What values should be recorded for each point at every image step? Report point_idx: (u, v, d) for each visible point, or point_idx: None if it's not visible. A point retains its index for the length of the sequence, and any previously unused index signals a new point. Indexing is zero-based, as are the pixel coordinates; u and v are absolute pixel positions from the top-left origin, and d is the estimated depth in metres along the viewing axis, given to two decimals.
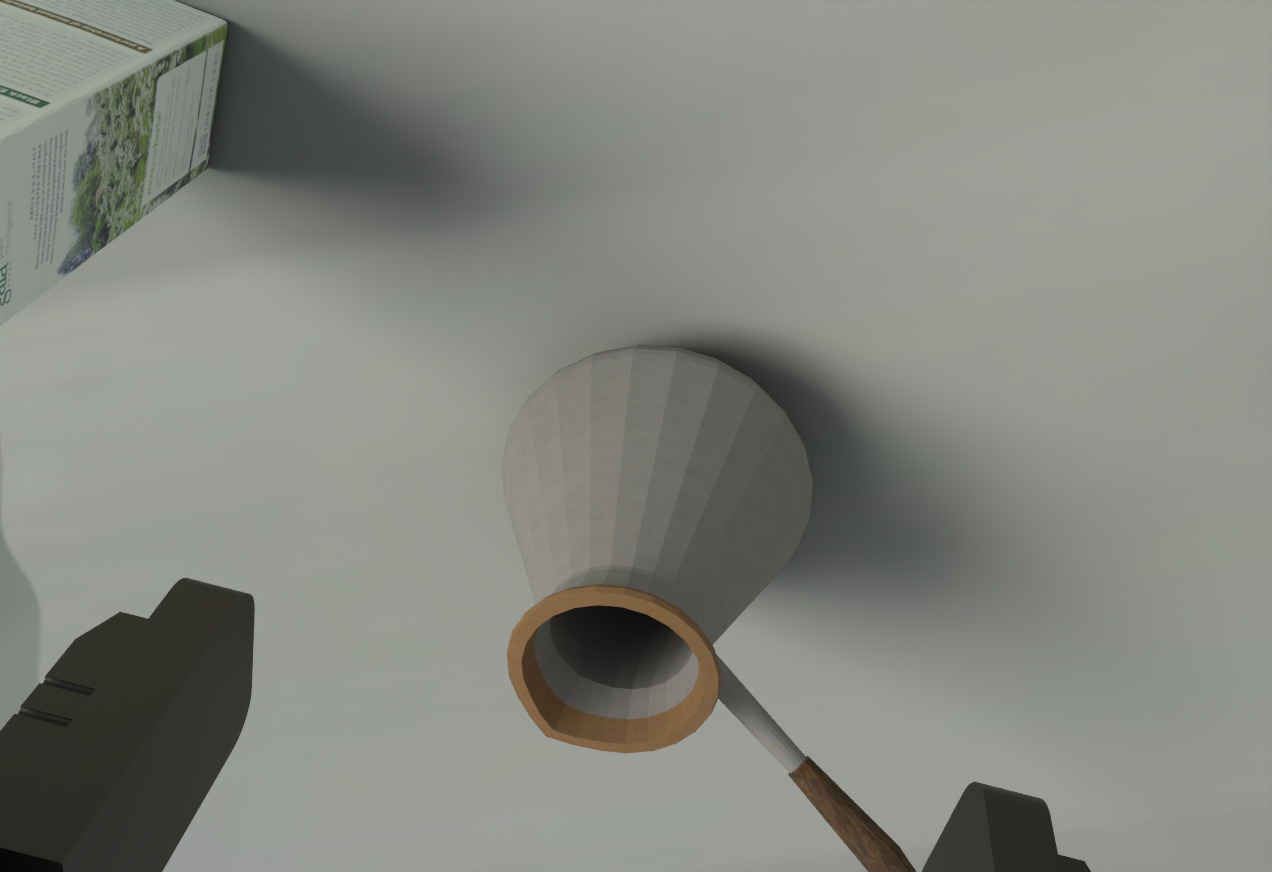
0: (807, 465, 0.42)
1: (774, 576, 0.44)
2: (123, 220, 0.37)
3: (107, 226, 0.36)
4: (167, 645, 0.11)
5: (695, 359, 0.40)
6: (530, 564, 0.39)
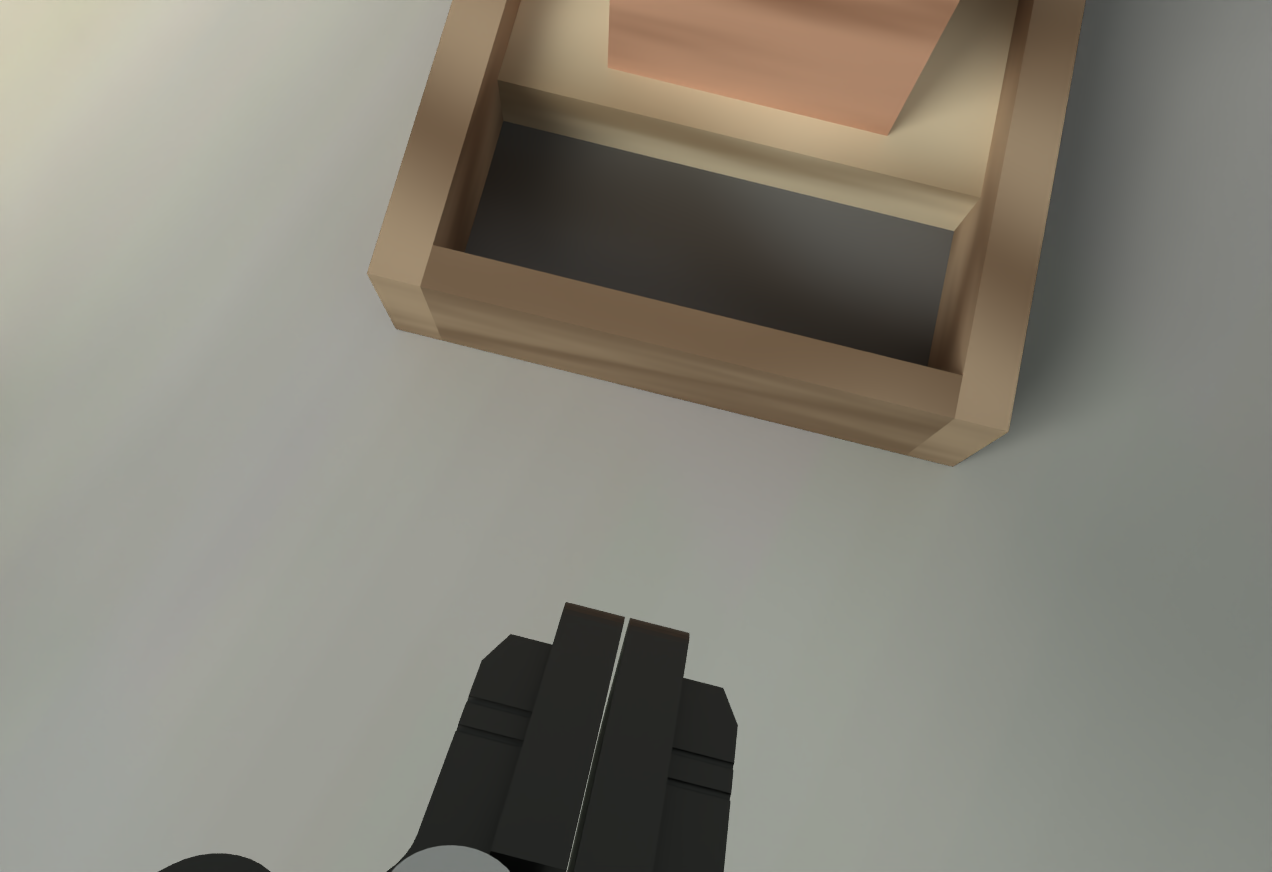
0: None
1: None
2: None
3: None
4: (579, 667, 0.12)
5: None
6: None
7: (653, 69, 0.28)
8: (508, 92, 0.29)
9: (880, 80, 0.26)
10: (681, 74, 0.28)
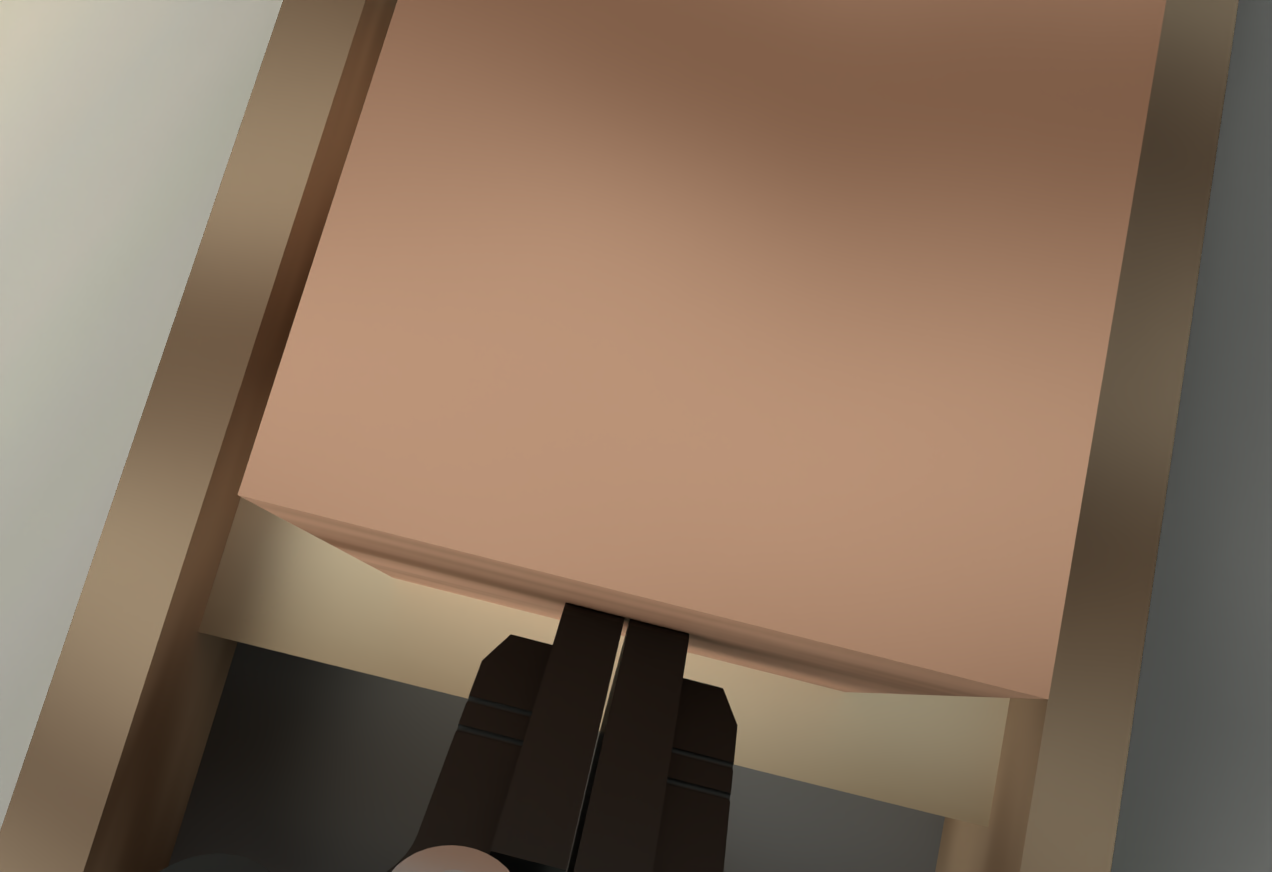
0: None
1: None
2: None
3: None
4: (579, 666, 0.12)
5: None
6: None
7: (462, 594, 0.17)
8: None
9: (827, 679, 0.15)
10: (507, 605, 0.17)
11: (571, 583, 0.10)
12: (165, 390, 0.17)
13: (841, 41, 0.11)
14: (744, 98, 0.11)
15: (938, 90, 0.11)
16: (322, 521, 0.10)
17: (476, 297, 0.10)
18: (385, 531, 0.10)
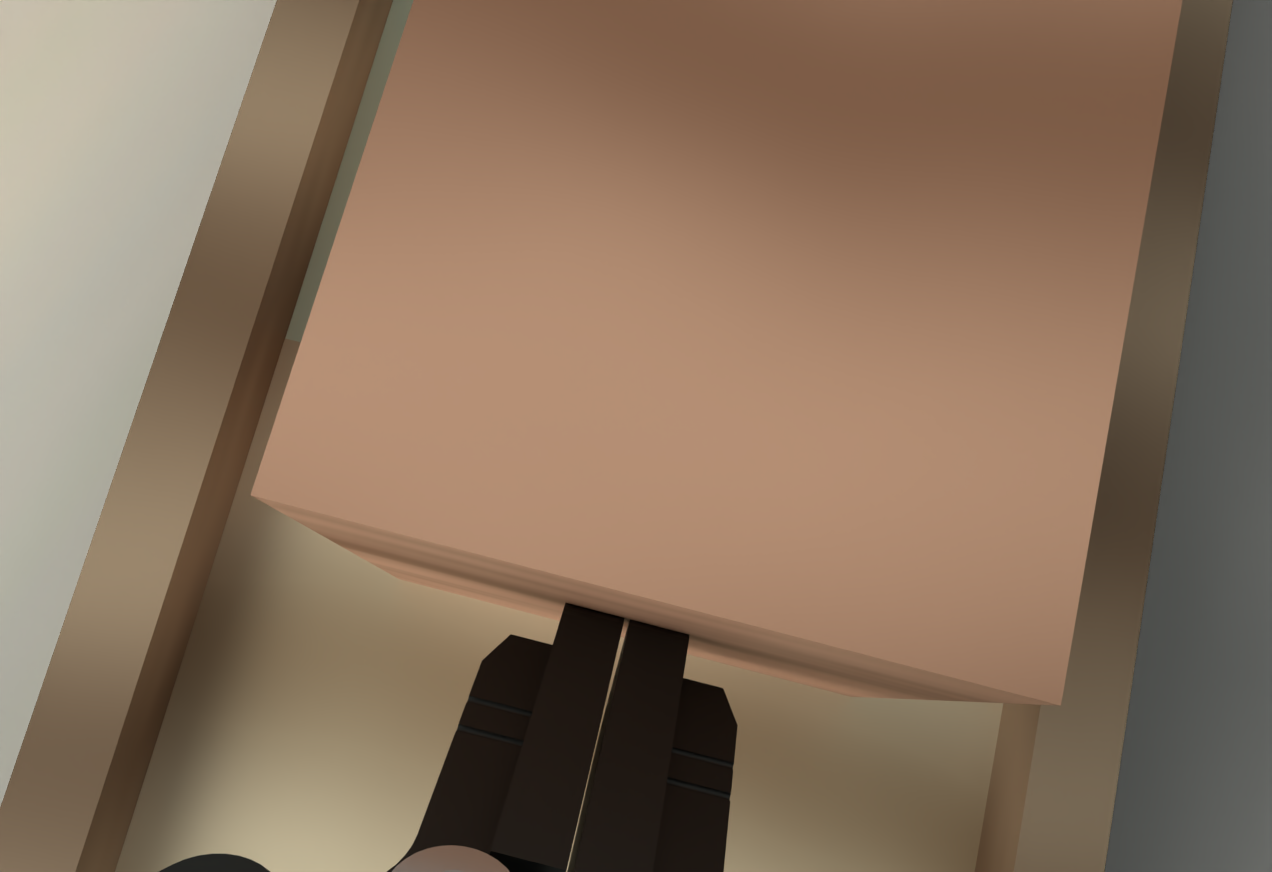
0: None
1: None
2: None
3: None
4: (579, 667, 0.12)
5: None
6: None
7: (468, 595, 0.17)
8: None
9: (834, 683, 0.15)
10: (513, 607, 0.17)
11: (583, 585, 0.10)
12: (15, 810, 0.15)
13: (857, 45, 0.11)
14: (760, 103, 0.11)
15: (952, 95, 0.11)
16: (334, 522, 0.10)
17: (491, 298, 0.10)
18: (398, 532, 0.10)
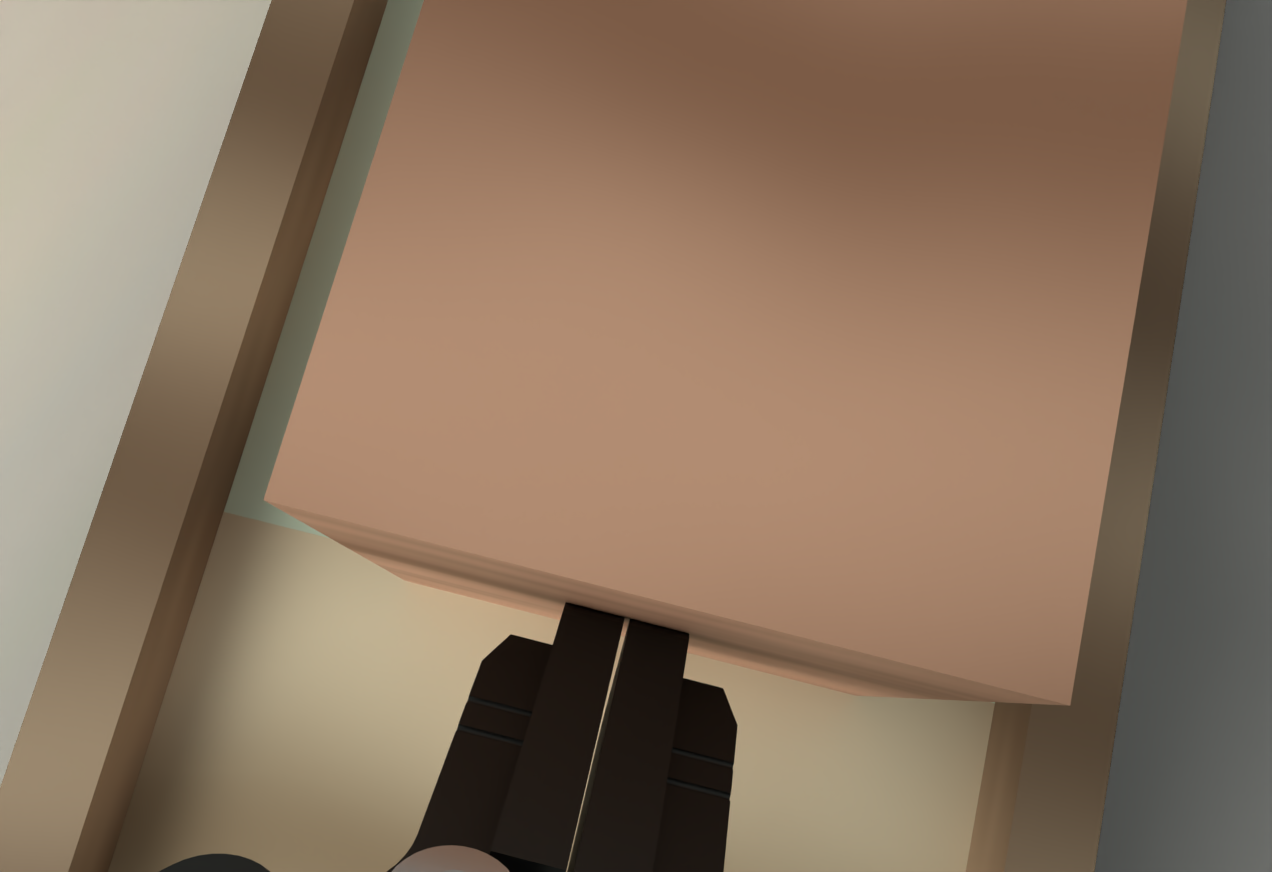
0: None
1: None
2: None
3: None
4: (579, 667, 0.12)
5: None
6: None
7: (474, 597, 0.17)
8: None
9: (839, 683, 0.15)
10: (520, 608, 0.17)
11: (594, 589, 0.10)
12: None
13: (864, 50, 0.11)
14: (768, 106, 0.11)
15: (959, 98, 0.11)
16: (346, 526, 0.11)
17: (500, 302, 0.10)
18: (410, 536, 0.10)
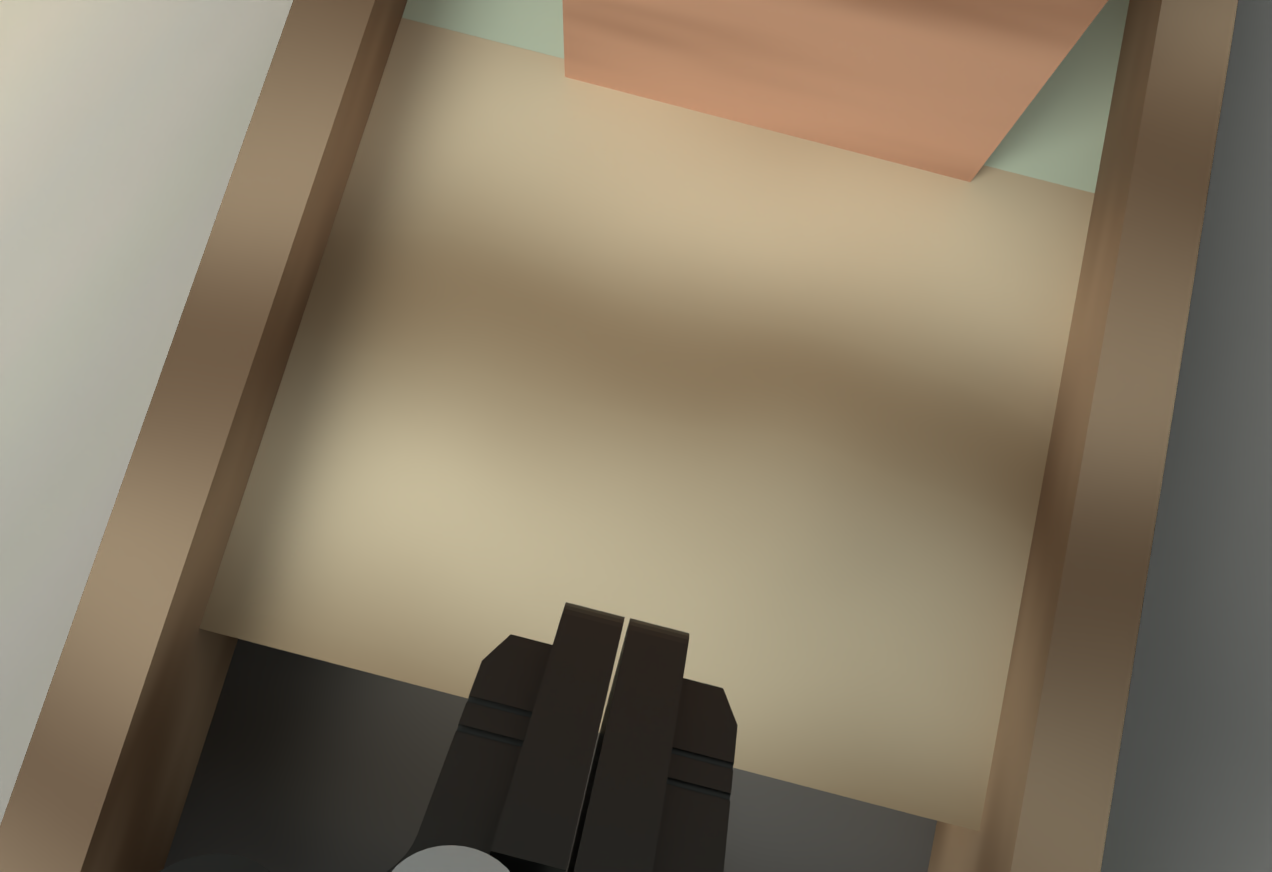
0: None
1: None
2: None
3: None
4: (579, 667, 0.12)
5: None
6: None
7: (631, 80, 0.19)
8: None
9: (971, 104, 0.17)
10: (672, 89, 0.19)
11: None
12: (170, 389, 0.17)
13: None
14: None
15: None
16: None
17: None
18: None
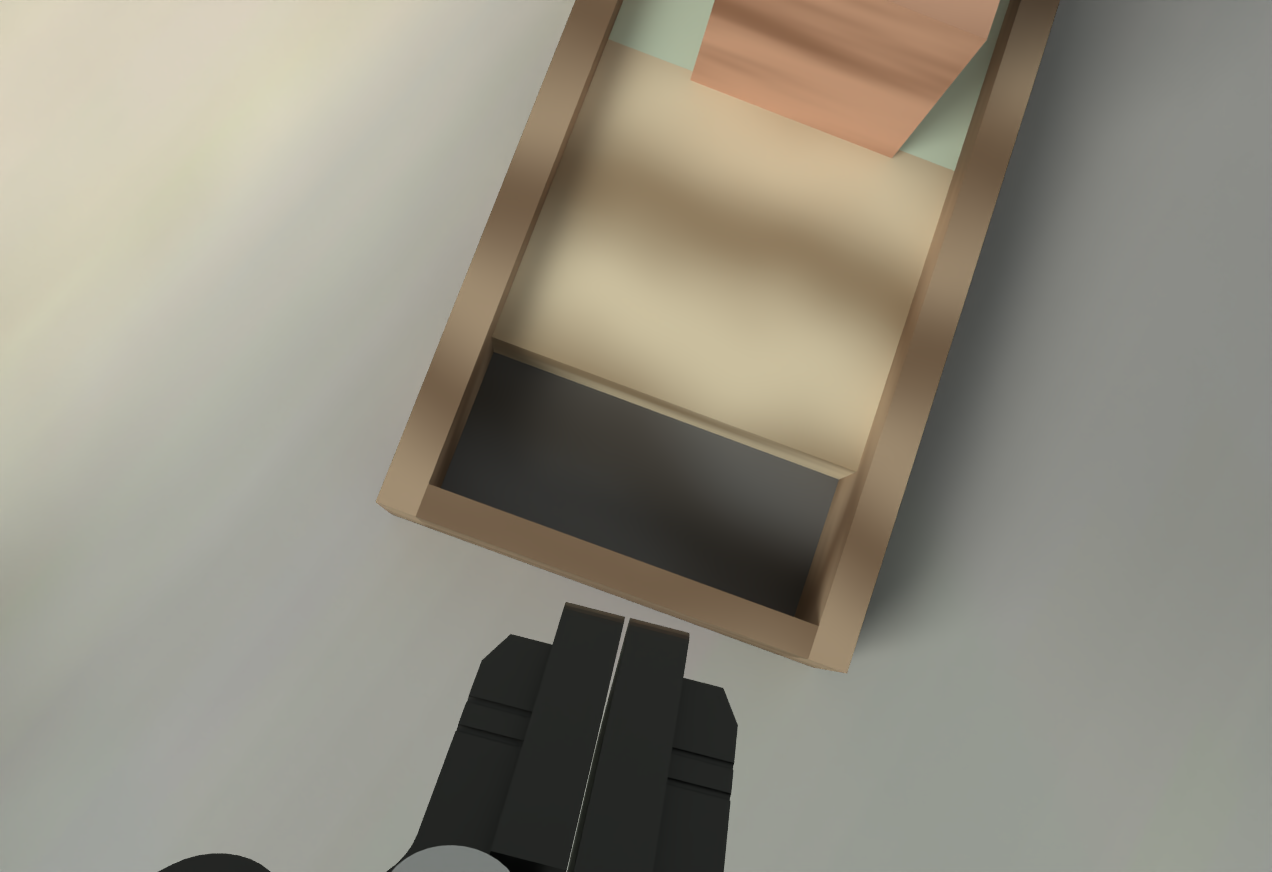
0: None
1: None
2: None
3: None
4: (578, 667, 0.12)
5: None
6: None
7: (725, 87, 0.38)
8: (499, 343, 0.37)
9: (892, 120, 0.36)
10: (745, 93, 0.38)
11: None
12: (496, 216, 0.35)
13: None
14: None
15: None
16: None
17: None
18: None
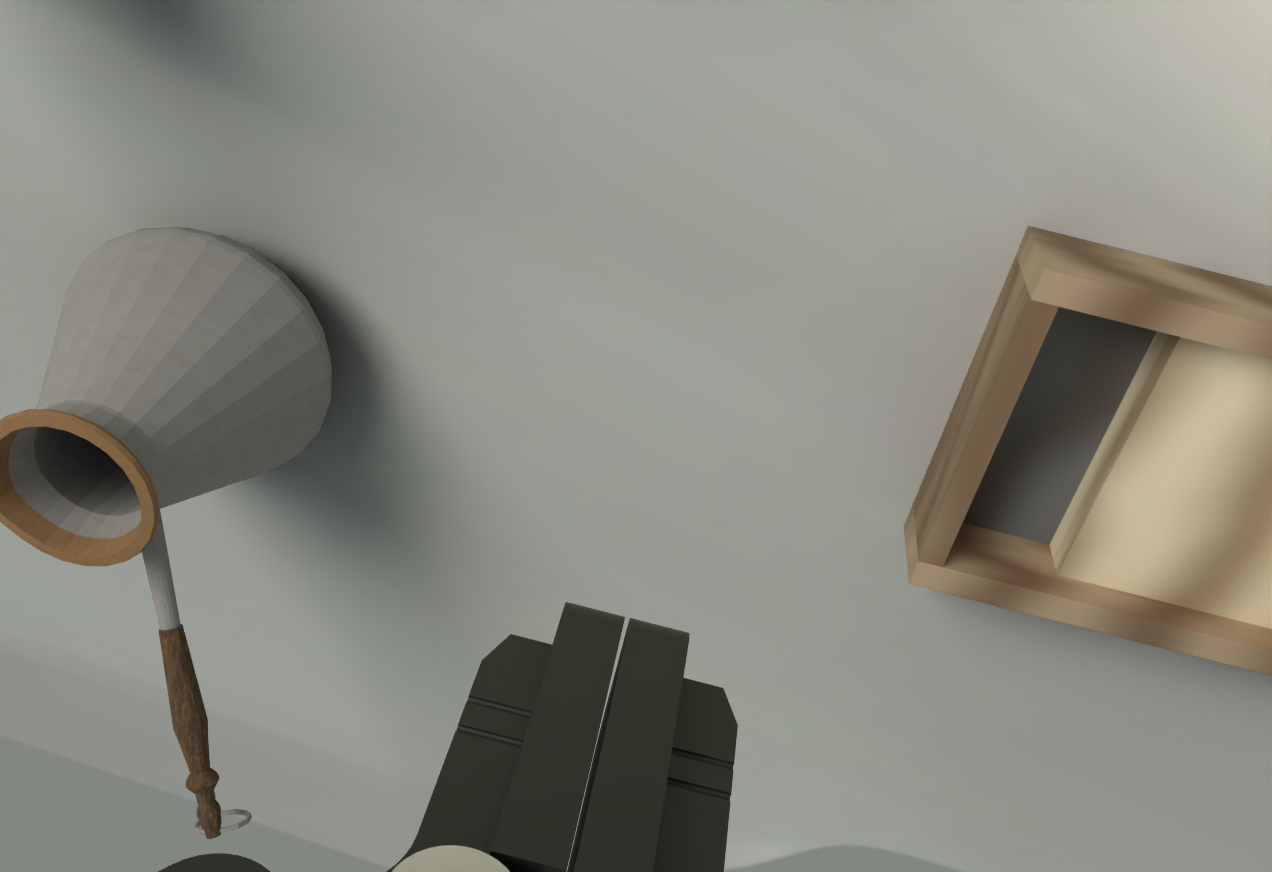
0: (323, 416, 0.50)
1: None
2: None
3: None
4: (579, 667, 0.12)
5: (289, 293, 0.47)
6: (54, 365, 0.43)
7: None
8: None
9: None
10: None
11: None
12: None
13: None
14: None
15: None
16: None
17: None
18: None
